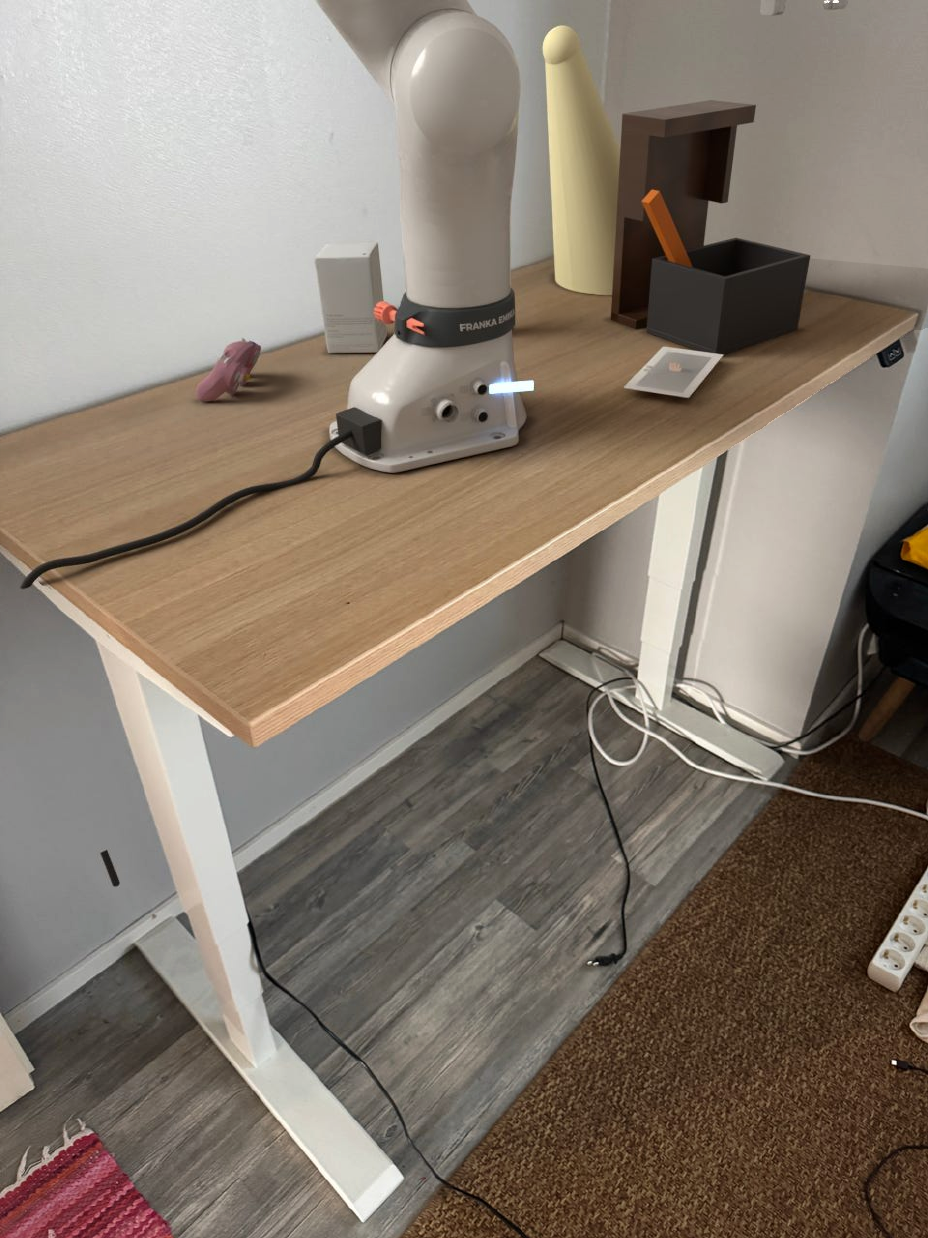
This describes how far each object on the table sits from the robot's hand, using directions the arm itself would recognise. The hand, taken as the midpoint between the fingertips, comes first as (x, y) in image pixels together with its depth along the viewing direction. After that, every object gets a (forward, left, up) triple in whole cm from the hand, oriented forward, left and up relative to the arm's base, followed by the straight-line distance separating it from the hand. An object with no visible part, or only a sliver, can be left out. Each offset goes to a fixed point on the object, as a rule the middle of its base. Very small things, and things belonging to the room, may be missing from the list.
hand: (803, 12), depth 89 cm
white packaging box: (-31, +42, -37) cm, 64 cm away
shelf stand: (+10, +23, -37) cm, 45 cm away
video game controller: (-51, +38, -37) cm, 74 cm away
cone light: (+13, +42, -37) cm, 58 cm away
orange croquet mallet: (+4, +13, -27) cm, 30 cm away
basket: (+10, +13, -37) cm, 41 cm away
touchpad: (-7, +5, -37) cm, 38 cm away
